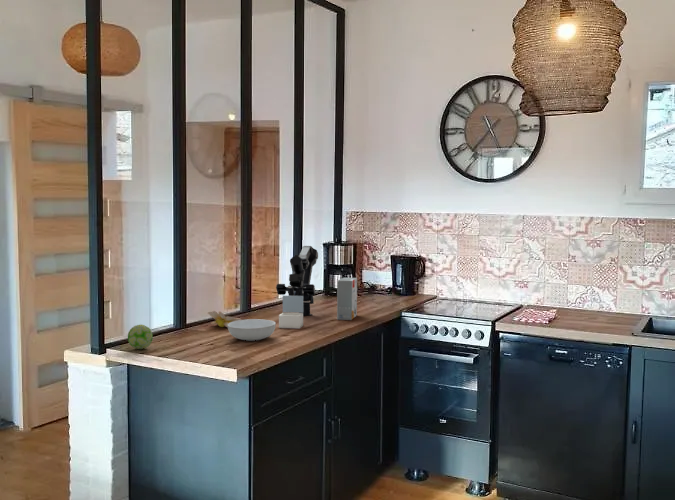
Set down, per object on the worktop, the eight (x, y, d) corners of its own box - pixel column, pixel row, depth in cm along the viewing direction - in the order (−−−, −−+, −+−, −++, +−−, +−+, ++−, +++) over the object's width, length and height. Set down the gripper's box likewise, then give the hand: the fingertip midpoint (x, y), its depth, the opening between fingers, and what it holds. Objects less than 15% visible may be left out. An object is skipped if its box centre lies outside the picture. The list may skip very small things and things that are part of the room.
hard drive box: (351, 320, 341) (351, 281, 340) (336, 320, 343) (336, 280, 341) (357, 315, 357) (357, 277, 355) (342, 314, 358) (342, 277, 357)
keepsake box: (282, 324, 330) (282, 312, 330) (303, 325, 329) (303, 313, 328) (279, 327, 322) (278, 315, 322) (299, 328, 321) (299, 315, 321)
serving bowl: (223, 336, 304) (223, 320, 304) (269, 332, 312) (268, 317, 311) (233, 345, 285) (232, 329, 284) (281, 341, 292) (281, 325, 292)
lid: (282, 312, 330) (283, 311, 331) (303, 312, 328) (303, 312, 329) (282, 295, 329) (282, 295, 330) (302, 296, 328) (303, 295, 328)
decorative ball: (122, 349, 277) (122, 325, 276) (142, 345, 285) (141, 321, 284) (139, 352, 271) (138, 328, 270) (158, 348, 279) (157, 324, 279)
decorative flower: (247, 322, 327) (242, 302, 325) (230, 331, 318) (225, 311, 316) (225, 321, 336) (221, 302, 334) (209, 330, 328) (204, 310, 326)
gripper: (276, 267, 335) (271, 292, 325) (314, 267, 332) (310, 293, 322) (280, 281, 344) (275, 306, 333) (317, 282, 341) (313, 307, 331)
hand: (293, 303), depth 330 cm, fingers closed, pressing on lid
